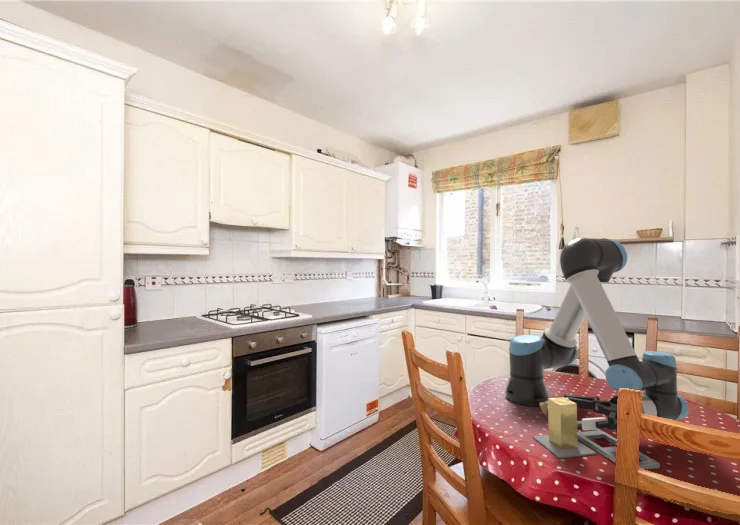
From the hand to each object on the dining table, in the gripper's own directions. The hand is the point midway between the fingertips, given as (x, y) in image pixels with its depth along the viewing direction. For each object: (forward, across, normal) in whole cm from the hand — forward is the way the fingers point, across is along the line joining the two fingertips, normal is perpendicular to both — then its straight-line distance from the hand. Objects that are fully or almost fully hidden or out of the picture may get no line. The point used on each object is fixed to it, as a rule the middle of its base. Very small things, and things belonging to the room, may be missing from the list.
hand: (564, 413), depth 95 cm
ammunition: (-10, +16, -9) cm, 21 cm away
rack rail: (-11, -1, -9) cm, 14 cm away
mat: (+1, 0, -9) cm, 9 cm away
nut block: (0, 0, -8) cm, 9 cm away
